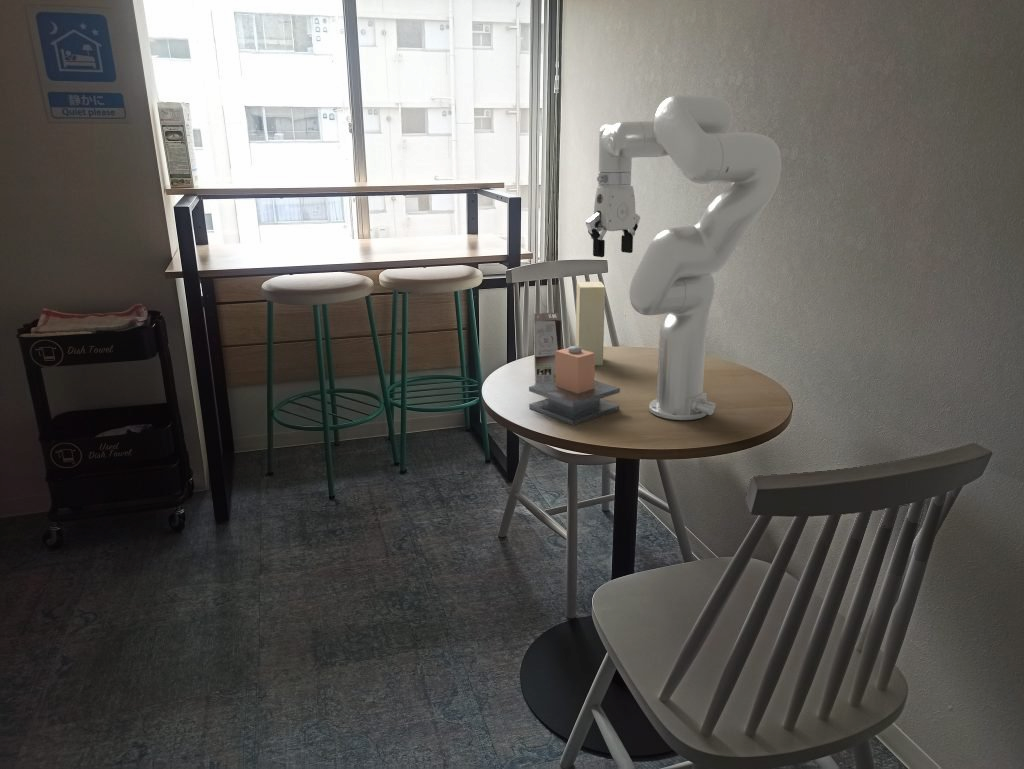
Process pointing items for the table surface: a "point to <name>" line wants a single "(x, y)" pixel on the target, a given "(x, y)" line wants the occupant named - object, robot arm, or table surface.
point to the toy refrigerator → (590, 318)
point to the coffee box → (546, 345)
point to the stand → (574, 402)
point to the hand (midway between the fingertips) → (612, 254)
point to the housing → (574, 369)
